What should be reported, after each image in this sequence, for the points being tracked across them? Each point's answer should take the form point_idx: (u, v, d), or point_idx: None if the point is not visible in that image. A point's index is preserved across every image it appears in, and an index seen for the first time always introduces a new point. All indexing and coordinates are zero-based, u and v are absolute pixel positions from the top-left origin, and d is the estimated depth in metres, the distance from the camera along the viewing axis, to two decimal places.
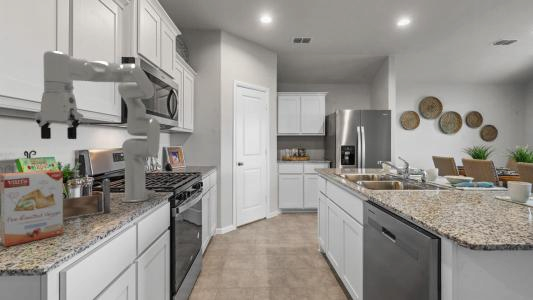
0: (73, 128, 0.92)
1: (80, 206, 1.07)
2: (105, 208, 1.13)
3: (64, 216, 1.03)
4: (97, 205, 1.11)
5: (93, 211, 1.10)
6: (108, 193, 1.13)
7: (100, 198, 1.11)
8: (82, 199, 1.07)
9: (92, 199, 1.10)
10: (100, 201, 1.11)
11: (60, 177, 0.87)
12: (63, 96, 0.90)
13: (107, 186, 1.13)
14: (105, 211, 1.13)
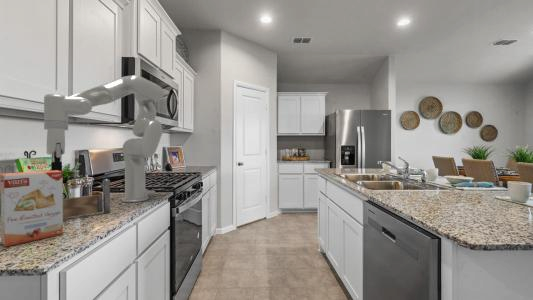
0: None
1: (80, 206, 1.07)
2: (105, 208, 1.13)
3: (64, 216, 1.03)
4: (97, 205, 1.11)
5: (93, 211, 1.10)
6: (108, 193, 1.13)
7: (100, 198, 1.11)
8: (82, 199, 1.07)
9: (92, 199, 1.10)
10: (100, 201, 1.11)
11: (60, 177, 0.87)
12: None
13: (107, 186, 1.13)
14: (105, 211, 1.13)
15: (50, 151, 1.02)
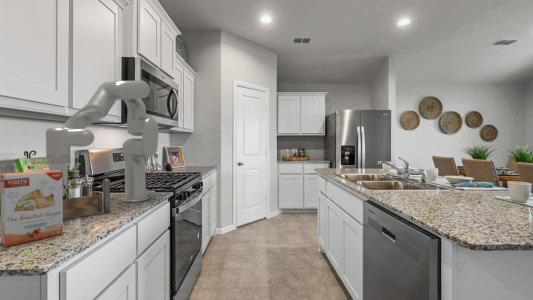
0: None
1: (80, 206, 1.07)
2: (105, 208, 1.13)
3: (64, 216, 1.03)
4: (97, 205, 1.11)
5: (93, 211, 1.10)
6: (108, 193, 1.13)
7: (100, 198, 1.11)
8: (82, 199, 1.07)
9: (92, 199, 1.09)
10: (100, 201, 1.11)
11: (60, 177, 0.87)
12: None
13: (107, 186, 1.13)
14: (105, 211, 1.13)
15: None
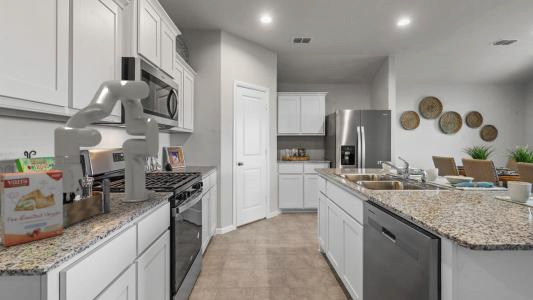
0: None
1: (89, 207, 1.05)
2: (105, 208, 1.13)
3: (79, 218, 1.00)
4: (99, 205, 1.11)
5: (97, 211, 1.10)
6: (108, 193, 1.13)
7: (101, 198, 1.12)
8: (90, 200, 1.06)
9: (96, 199, 1.09)
10: (101, 201, 1.12)
11: (60, 177, 0.87)
12: None
13: (107, 186, 1.13)
14: (105, 211, 1.13)
15: (74, 189, 0.96)
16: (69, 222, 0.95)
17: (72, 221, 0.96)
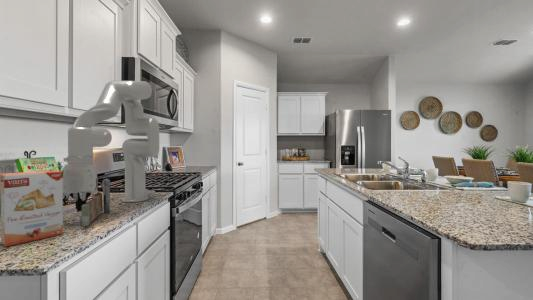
0: None
1: (97, 207, 1.06)
2: (105, 208, 1.13)
3: (93, 218, 1.01)
4: (101, 205, 1.11)
5: (100, 211, 1.10)
6: (108, 193, 1.13)
7: None
8: (97, 200, 1.06)
9: (100, 199, 1.10)
10: None
11: (60, 177, 0.87)
12: None
13: (107, 186, 1.13)
14: (105, 211, 1.13)
15: (93, 188, 0.98)
16: (90, 221, 0.96)
17: (91, 221, 0.98)
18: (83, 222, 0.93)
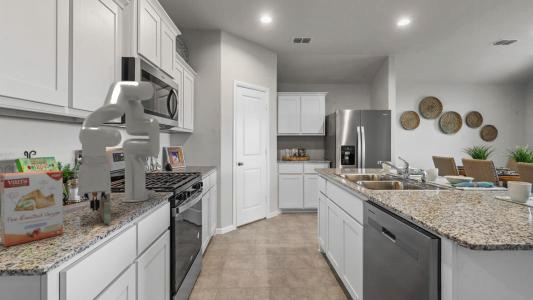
0: (90, 200, 0.99)
1: None
2: None
3: None
4: None
5: None
6: None
7: None
8: None
9: None
10: None
11: (60, 177, 0.87)
12: None
13: None
14: None
15: (110, 187, 1.00)
16: None
17: None
18: (106, 219, 0.96)
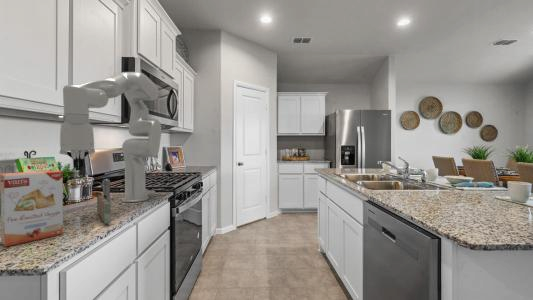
0: None
1: None
2: None
3: None
4: None
5: None
6: (108, 193, 1.13)
7: None
8: None
9: None
10: None
11: (60, 177, 0.87)
12: None
13: (107, 186, 1.13)
14: None
15: (93, 146, 1.00)
16: None
17: None
18: (106, 219, 0.96)
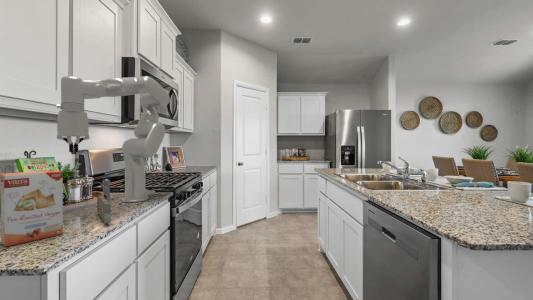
0: None
1: None
2: None
3: None
4: None
5: None
6: (108, 193, 1.13)
7: None
8: None
9: None
10: None
11: (60, 177, 0.87)
12: None
13: (107, 186, 1.13)
14: None
15: (87, 133, 1.09)
16: None
17: None
18: (106, 219, 0.96)
